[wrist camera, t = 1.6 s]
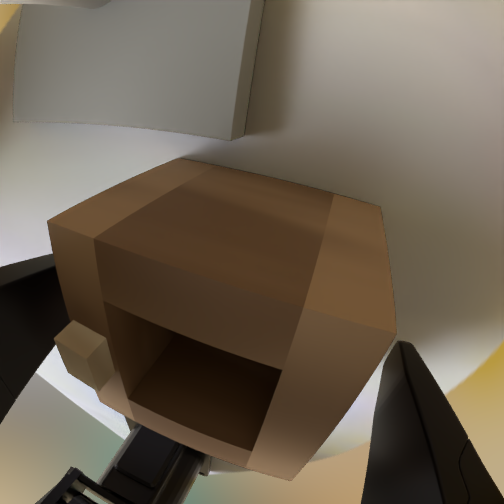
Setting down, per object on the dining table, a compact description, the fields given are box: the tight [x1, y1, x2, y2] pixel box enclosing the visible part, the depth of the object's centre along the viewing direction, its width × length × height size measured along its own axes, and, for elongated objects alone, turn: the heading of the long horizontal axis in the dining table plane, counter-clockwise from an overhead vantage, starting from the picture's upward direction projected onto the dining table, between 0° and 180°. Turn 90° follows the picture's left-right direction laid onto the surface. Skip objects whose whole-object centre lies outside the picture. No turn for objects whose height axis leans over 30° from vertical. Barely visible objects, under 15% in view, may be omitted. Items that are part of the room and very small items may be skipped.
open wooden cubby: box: [47, 158, 397, 481], centre depth 8 cm, size 6×6×6 cm
